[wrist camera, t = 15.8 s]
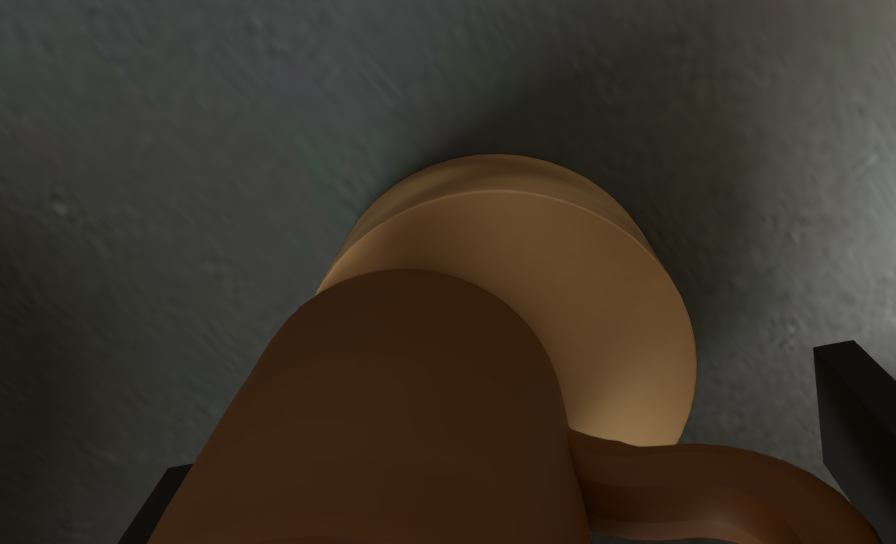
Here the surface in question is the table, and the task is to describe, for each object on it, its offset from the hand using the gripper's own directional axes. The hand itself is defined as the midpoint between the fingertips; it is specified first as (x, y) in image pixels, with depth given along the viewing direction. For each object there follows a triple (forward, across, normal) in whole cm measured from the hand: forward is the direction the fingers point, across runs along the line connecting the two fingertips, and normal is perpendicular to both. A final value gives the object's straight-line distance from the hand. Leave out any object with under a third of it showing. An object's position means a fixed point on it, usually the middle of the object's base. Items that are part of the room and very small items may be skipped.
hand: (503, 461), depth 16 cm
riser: (+7, 0, 0) cm, 7 cm away
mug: (+3, 0, 0) cm, 3 cm away
